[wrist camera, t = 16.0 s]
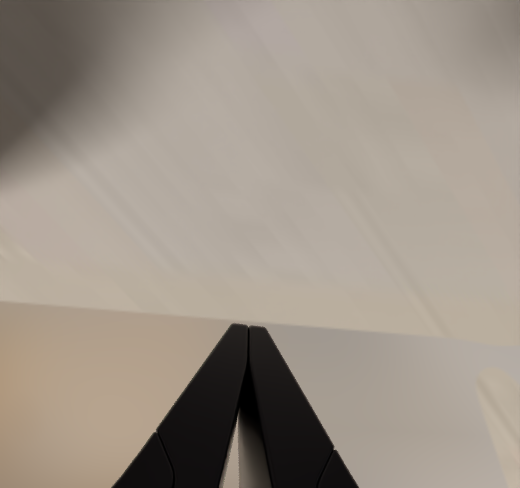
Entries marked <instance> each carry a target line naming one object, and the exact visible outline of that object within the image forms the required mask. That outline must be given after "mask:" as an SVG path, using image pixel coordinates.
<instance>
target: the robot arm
mask: <svg viewBox="0 0 520 488" xmlns="http://www.w3.org/2000/svg"><path fill="white" fill-rule="evenodd" d="M237 417H238V451H239V488H359V487H358V486H357V484H356V482H355V480H354V479H353V477H352V475H351V474H350V472H349V470H348V469H347V467H346V465H345V464H344V462H343V460H342V459H341V457H340V455H339V454H338V451H337V450H334V445H333V443H332V441H331V440H330V438H329V436H328V435H327V433H326V431H325V429H324V428H323V426H322V424H321V422H320V421H319V419H318V417H317V415H316V414H315V412H314V410H313V409H312V407H311V405H310V403H309V402H308V400H307V398H306V396H305V395H304V393H303V391H302V390H301V388H300V386H299V384H298V383H297V381H296V379H295V377H294V376H293V374H292V372H291V371H290V369H289V367H288V365H287V364H286V362H285V360H284V359H283V357H282V355H281V354H280V352H279V350H278V348H277V346H276V345H275V343H274V341H273V340H272V338H271V336H270V334H269V333H268V331H267V329H266V328H265V327H260V326H249V328H248V326H247V325H243V324H236V323H233V324H231V325H230V327H229V328H228V330H227V331H226V332H225V334H224V335H223V336H222V338H221V339H220V341H219V342H218V343H217V345H216V346H215V348H214V349H213V350H212V352H211V353H210V355H209V356H208V358H207V359H206V360H205V362H204V363H203V364H202V366H201V367H200V369H199V370H198V371H197V373H196V374H195V376H194V377H193V378H192V380H191V381H190V383H189V384H188V385H187V387H186V388H185V390H184V391H183V392H182V394H181V395H180V397H179V398H178V399H177V401H176V402H175V403H174V405H173V406H172V408H171V409H170V410H169V412H168V413H167V415H166V416H165V417H164V419H163V420H162V422H161V423H160V425H159V426H158V427H157V429H156V432H154V433H153V434H152V435H151V437H150V438H149V439H148V441H147V442H146V444H145V445H144V446H143V448H142V449H141V451H140V452H139V453H138V455H137V456H136V457H135V458H134V460H133V461H132V463H131V464H130V465H129V466H128V468H127V469H126V470H125V472H124V473H123V474H122V476H121V477H120V478H119V479H118V480H117V482H116V483H115V484H114V485H113V486H112V487H111V488H223V484H224V480H225V475H226V470H227V465H228V461H229V456H230V451H231V447H232V442H233V437H234V432H235V428H236V422H237Z"/></svg>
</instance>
